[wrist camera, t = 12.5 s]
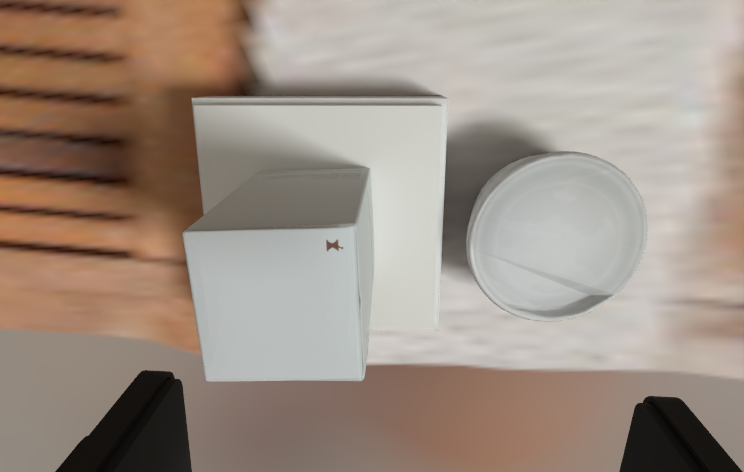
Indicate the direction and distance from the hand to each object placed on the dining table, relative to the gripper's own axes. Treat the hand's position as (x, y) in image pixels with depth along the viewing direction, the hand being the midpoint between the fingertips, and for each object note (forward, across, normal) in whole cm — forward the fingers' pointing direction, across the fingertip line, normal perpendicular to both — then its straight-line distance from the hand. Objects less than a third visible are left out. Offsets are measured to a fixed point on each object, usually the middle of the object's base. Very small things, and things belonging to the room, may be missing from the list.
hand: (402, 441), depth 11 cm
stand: (+27, +5, +3) cm, 28 cm away
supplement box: (+23, +5, +3) cm, 24 cm away
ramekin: (+27, -10, +3) cm, 29 cm away
